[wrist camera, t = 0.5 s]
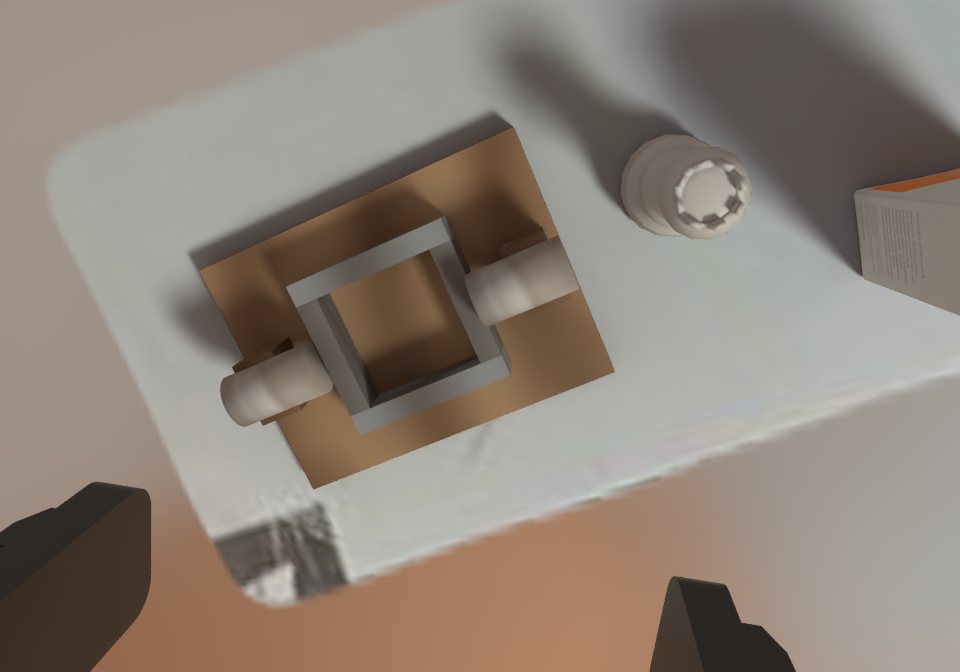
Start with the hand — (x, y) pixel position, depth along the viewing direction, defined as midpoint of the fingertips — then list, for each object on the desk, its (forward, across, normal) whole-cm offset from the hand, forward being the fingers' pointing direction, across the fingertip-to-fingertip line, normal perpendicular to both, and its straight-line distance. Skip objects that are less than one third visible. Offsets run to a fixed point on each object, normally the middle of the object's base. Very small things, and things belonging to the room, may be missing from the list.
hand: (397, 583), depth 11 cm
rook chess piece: (+25, -7, -6) cm, 26 cm away
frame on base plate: (+24, +4, +2) cm, 25 cm away
